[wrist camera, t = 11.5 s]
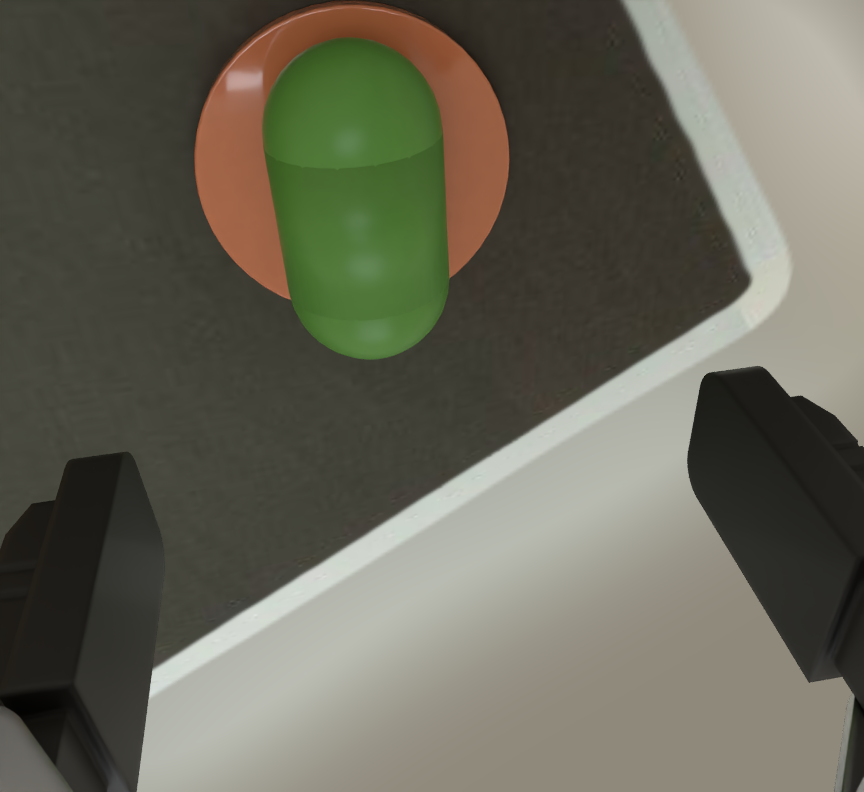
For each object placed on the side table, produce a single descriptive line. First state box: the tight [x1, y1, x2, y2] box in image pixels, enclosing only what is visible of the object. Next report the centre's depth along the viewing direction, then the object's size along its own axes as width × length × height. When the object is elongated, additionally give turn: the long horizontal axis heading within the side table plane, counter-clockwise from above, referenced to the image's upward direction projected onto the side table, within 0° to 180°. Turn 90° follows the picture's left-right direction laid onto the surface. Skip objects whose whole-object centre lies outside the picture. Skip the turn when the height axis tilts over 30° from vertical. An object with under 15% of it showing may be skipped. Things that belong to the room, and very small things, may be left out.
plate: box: [194, 1, 510, 300], centre depth 21 cm, size 8×8×1 cm
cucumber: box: [262, 37, 449, 359], centre depth 19 cm, size 8×4×4 cm, turn 3°
